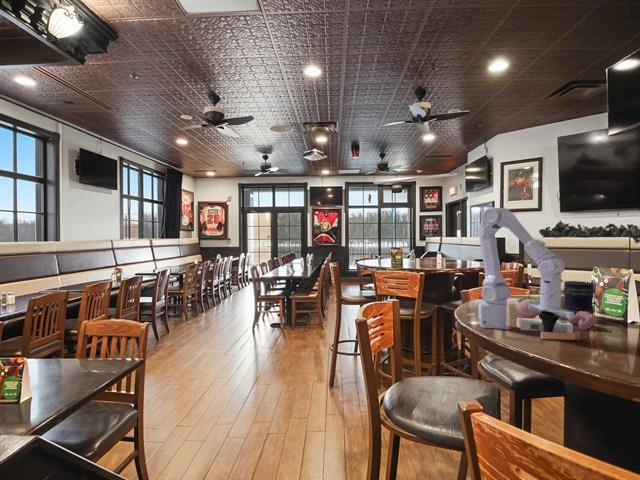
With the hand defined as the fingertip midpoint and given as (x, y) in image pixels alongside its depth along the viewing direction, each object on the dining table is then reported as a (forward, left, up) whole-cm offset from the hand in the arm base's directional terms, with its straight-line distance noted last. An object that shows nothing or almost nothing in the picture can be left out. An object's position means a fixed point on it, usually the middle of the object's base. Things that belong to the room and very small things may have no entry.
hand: (548, 335), depth 118 cm
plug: (+3, +4, -1) cm, 6 cm away
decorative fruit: (+1, +27, -1) cm, 27 cm away
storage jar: (+21, +33, -1) cm, 39 cm away
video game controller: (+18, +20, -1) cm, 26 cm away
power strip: (+2, +12, -1) cm, 12 cm away
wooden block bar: (+3, -1, -1) cm, 3 cm away
